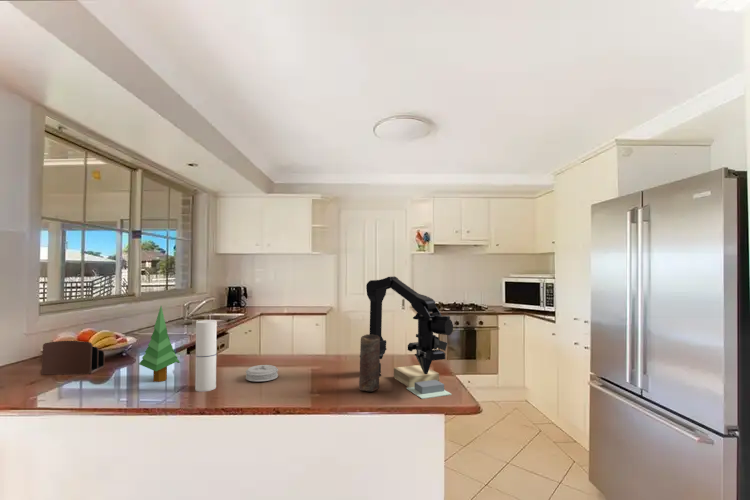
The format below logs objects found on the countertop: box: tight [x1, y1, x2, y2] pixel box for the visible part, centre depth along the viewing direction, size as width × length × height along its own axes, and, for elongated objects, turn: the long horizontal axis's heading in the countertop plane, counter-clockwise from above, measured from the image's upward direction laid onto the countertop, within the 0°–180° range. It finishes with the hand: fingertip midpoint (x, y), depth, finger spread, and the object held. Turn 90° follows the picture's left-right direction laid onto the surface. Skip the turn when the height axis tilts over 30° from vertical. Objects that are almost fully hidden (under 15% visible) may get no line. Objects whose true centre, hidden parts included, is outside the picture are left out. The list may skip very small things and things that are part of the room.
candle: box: [358, 333, 380, 393], centre depth 149 cm, size 8×7×20 cm
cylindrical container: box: [194, 319, 218, 393], centre depth 151 cm, size 7×7×25 cm
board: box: [393, 364, 440, 388], centre depth 160 cm, size 13×14×4 cm
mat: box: [406, 387, 452, 400], centre depth 147 cm, size 12×12×1 cm
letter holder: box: [40, 340, 105, 376], centre depth 173 cm, size 10×20×14 cm, turn 94°
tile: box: [415, 380, 445, 394], centre depth 148 cm, size 9×6×2 cm, turn 112°
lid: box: [245, 364, 279, 382], centre depth 163 cm, size 13×13×5 cm
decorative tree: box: [138, 305, 182, 383], centre depth 161 cm, size 14×16×30 cm
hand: (425, 374), depth 150 cm, fingers closed
